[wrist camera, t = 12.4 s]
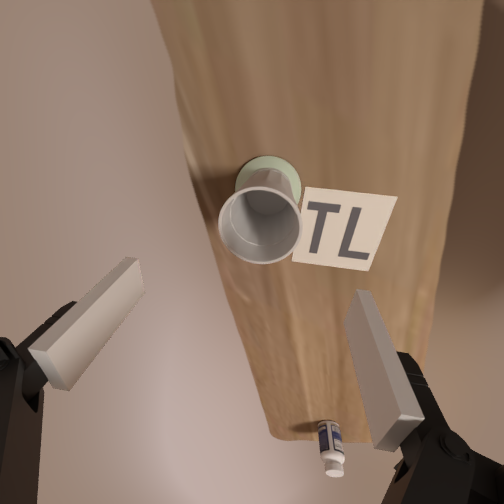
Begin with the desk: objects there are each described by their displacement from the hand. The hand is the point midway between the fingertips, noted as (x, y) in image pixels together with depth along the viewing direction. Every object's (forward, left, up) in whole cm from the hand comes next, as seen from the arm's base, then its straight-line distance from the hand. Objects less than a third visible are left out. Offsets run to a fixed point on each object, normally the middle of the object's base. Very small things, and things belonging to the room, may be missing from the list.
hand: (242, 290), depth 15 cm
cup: (0, 0, -22) cm, 22 cm away
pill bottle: (+59, +22, -22) cm, 67 cm away
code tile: (+5, +11, -22) cm, 25 cm away
